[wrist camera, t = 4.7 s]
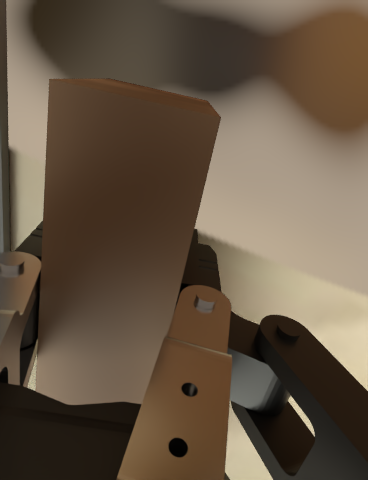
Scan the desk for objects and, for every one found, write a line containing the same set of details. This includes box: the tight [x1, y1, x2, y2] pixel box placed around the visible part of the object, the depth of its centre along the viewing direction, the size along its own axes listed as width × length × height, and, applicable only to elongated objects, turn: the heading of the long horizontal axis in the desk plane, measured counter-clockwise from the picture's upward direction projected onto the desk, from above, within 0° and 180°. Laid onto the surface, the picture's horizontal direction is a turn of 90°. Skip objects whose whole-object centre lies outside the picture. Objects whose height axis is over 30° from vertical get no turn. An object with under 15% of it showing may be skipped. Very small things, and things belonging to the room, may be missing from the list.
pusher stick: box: [36, 79, 221, 405], centre depth 12 cm, size 6×17×5 cm, turn 168°
